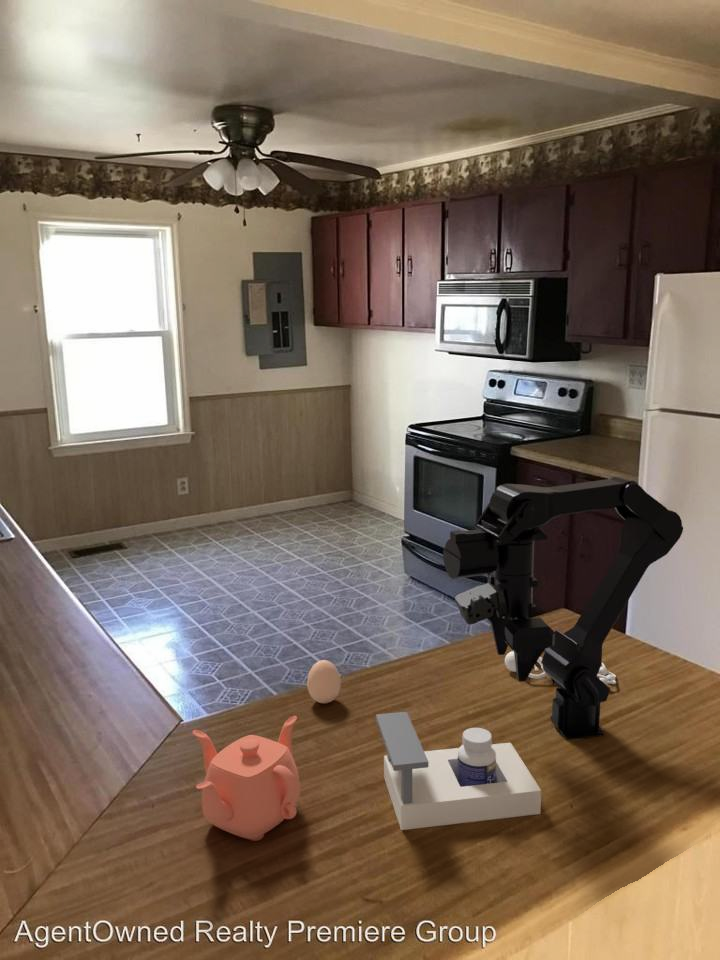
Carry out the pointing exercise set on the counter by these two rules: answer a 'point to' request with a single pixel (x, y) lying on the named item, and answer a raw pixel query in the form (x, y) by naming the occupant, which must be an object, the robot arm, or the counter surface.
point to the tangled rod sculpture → (512, 667)
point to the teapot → (250, 783)
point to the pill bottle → (476, 758)
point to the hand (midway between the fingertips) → (511, 667)
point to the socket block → (449, 781)
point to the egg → (323, 682)
